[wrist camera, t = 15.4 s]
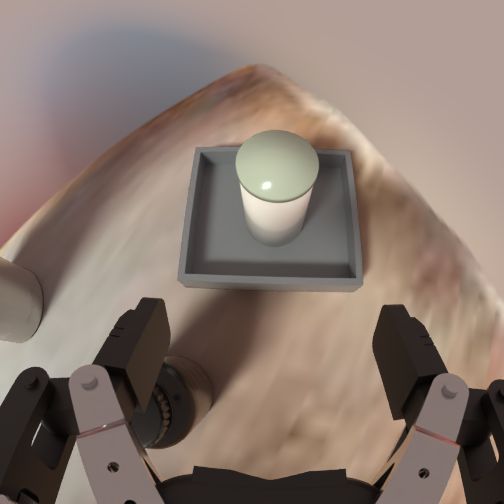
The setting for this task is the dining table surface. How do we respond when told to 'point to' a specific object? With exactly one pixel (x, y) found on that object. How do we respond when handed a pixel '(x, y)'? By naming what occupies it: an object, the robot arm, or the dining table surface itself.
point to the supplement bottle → (174, 404)
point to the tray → (261, 256)
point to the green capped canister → (276, 184)
